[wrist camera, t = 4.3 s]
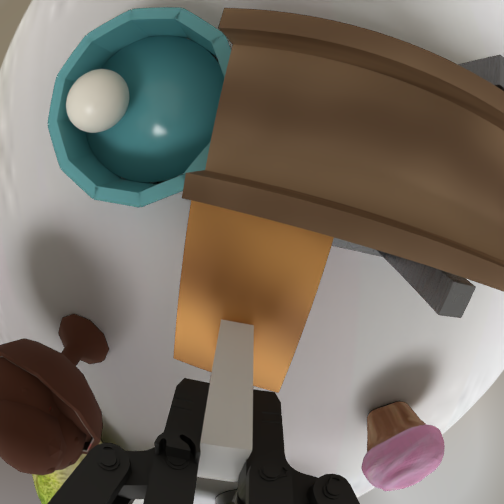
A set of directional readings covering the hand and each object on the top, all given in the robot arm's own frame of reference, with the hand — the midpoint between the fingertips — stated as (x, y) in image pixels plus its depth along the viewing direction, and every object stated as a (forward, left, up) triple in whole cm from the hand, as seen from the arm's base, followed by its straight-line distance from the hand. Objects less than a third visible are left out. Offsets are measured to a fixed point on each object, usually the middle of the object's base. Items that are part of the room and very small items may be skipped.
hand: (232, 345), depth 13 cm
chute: (+6, -10, -3) cm, 12 cm away
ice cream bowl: (-10, +13, -8) cm, 18 cm away
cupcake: (-14, -19, -8) cm, 25 cm away
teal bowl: (+10, +8, -7) cm, 15 cm away
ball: (+10, +11, -5) cm, 16 cm away
